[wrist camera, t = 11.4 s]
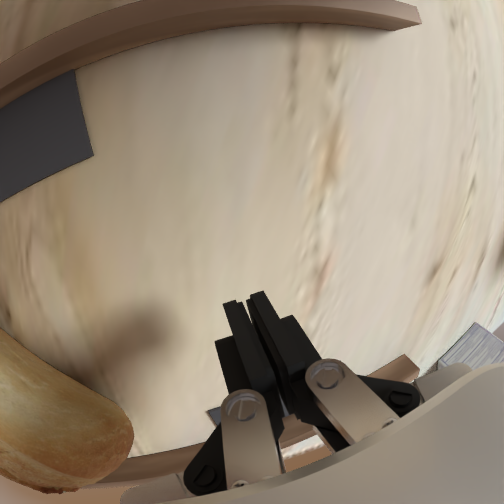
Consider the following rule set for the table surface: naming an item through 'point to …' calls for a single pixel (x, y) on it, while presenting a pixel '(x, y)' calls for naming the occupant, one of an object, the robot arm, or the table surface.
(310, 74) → the table surface
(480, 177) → the table surface
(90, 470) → the bread roll
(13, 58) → the box
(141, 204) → the table surface
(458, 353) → the medicine box
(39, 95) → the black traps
